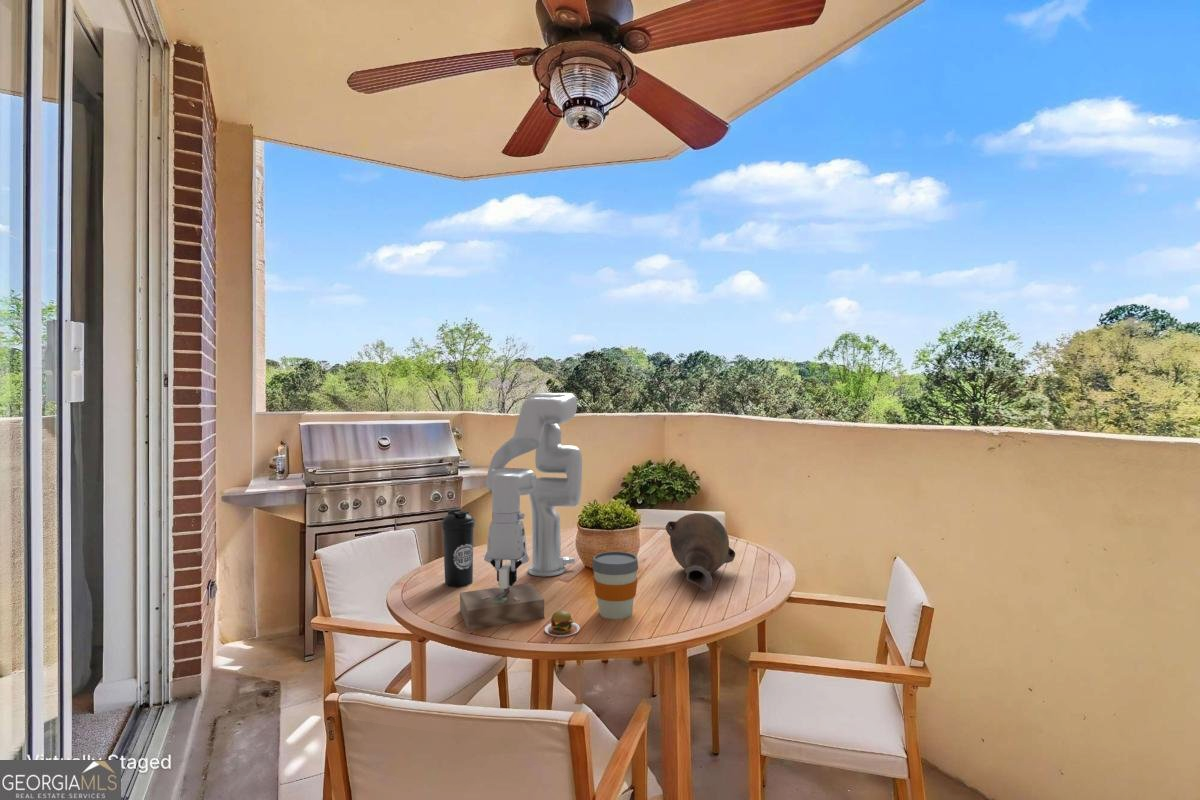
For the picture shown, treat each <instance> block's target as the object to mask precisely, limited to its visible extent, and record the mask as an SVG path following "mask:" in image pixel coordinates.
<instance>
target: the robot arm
mask: <svg viewBox="0 0 1200 800" xmlns="http://www.w3.org/2000/svg"><path fill="white" fill-rule="evenodd" d="M577 411H578V401H577V398H576V396H575V395H574V394H573V393H572V392H536V393H532V394H529V395H528V396H527V397H526V400H524V401H523V403H522V405H521V407H520V412H519V414H518V419H517V423H516V424H515V425H516V426H515V428H514V429H515V430H514V433H513V435H512V437H511V438H509V439H507V441H505V442H504V443H503V444H502V445H501V446H500V447H499V448H498V449H497V450H496V451H495V453H494V454H493V456H492V458H491V460H490V464H489V467H488V471H487V475H486V480H485V481H486V488H487V490H488V491H489V492H490V493H491V499H492V500H491V506H492V507H491V508H492V509H491V511H492V512H491V513H492V514H491V515H492V517H491V519H492V521H490V523H489V527H488V534H487V535H488V536H487V546H486V553H485V555H484V557H483V559H484V561H485V562H487V563H489V564H490V565H492V567H493V568H494V570H495V571H496V581H497V582H499V569H500V568H501V567H502V566H503V565H504V564H503V561H510V562H511V571H510V572H509V585H510V586H513V585H514V584H515V583H516V582H517V577H518V575H517V570H518V568H519V567H520V566H521V565H523V564H526V563H528V562H529V561H530V557H529V555H528V553H527V539H526V538H527V537H526V530H525V525H524V521H523V520H522V519H525V518H526V513H522V511H521V498H520V496H527V495H529V501H530V508H531V523H532V524H531V535H532V537H531V539H532V541H531V542H532V543H531V544H532V547H531V548H532V549H531V550H532V553H531V554H532V564H531V565H529V566H528V568H527V573H528V574H530V575H532V576H534V577H554V576H560V575H562V574H564V573H565V571H566V565H572V564H575V562H576V560H575V557H569V556H562V555H561V552H562V551H561V547H562V546H561V545H562V543H561V542H562V541H561V526H562V525H561V524H562V523H561V517H560V516H561V515H560V514H559V512H558V510H557V509H556V508H555V507H567V508H568V507H570V508H571V507H576V506H578V505H579V503H580V501H581V497H582V480H583V478H582V477H583V455H582V452H581V449H580V448H579V447H577V446H576V445H572V444H571V445H569V444H568V445H566V444H565V445H564V444H562V430H561V428H560V425H561V424H564V423H567V422H568V421H570V420H571V419H572V418H574V416H575V415H576V412H577ZM534 450H535V457H534V458H535V459H534V460H535V468H536V470H537V471H538V472H540V473H542V474H543V473H544V474H563V475H564V474H565V475H566V477H555V476H553V477H552V476H550V477H549V476H544V477H543V476H542V477H541V476H540V477H537V475H536V473H535V471H533V470H531V469H529V468H518V467H517V468H516V467H515V468H514V467H506V466H507V464H508V463H510V462H511V461H512V460H514V459H515V458H517V457H520V456H522V455H524V454H527V453H530V452H532V451H534Z"/></svg>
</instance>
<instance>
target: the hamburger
mask: <svg viewBox="0 0 1200 800" xmlns="http://www.w3.org/2000/svg"><path fill="white" fill-rule="evenodd" d="M574 626H575V628H577V629H576V631H575V632H573V633H571V634H567V633H570V631H571V630H572V627H574ZM549 629H551V630H552V632H553V633H555V634H551V633H550V632H549ZM580 629H581V627H580V625H579V624H578V623H576V622H574V621H573V620H572V614H571V613H570V612H569V611H567V610H565V609H560V610H559V609H558V610H557V611H554V612H553V613H552V615H551V620H550V623H549V624H547V625H546V626H545V627H544V632H545V633H546V634H548V635H549V636H553V637H560V638H561V637H562V638H564V637H568V636H569V637H570V636H572V635H575V634H577V633H578V632H579V631H580ZM556 634H559V635H556ZM561 634H564V635H561ZM565 634H566V635H565Z"/></svg>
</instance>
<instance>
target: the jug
mask: <svg viewBox="0 0 1200 800" xmlns="http://www.w3.org/2000/svg"><path fill="white" fill-rule="evenodd" d="M665 531H666V533H667V535H668V536H669V539H670V540H669V543H670V549H671V552H672V554H673V556H674V559H675V561H676V562H677V563H678V565H680V566H681V567H682V569H684V572H685V574H686V580H687V581H689V582H690V583H692V584H694V585H697V586H698V587H699V588H700V589H701V590H703V591H705V592H707V591H708V590H710V589H711V587H712V586H714V585H713V584H714V579H713V577H712V574H713V573H715V572H716V571H718V570H719V569H720V568H721V567H722V566H723V565H724V564H727V563H728V564H729V563H731V562H733V561H734V559H735V556H736V552H735V551H734V549H732V548H731V547H730V539H729V535H728V532H727V530H726V528H725V527H724V525H723V524H722V523H721V522H720V520H718V518H716V517H714V516H712V515H711V514H707V513H704V512H703V513H702V512H701V513H700V512H695V513H688V514H686V515H684V516H682V517H680V518H678V519H677V520H676V521H673V520H671V521H668V522H667V524H666V525H665Z"/></svg>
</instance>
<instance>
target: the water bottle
mask: <svg viewBox="0 0 1200 800" xmlns="http://www.w3.org/2000/svg"><path fill="white" fill-rule="evenodd" d="M475 521H476V519H475V518H474V517H473V516H472V515H471V513H470V511H469V510H462V509H461V508H451V509H448V511H447V515H445V517H444V518H443V519H442V520H441V530H442V539H443V540H442V541H443V561H444V564H443V565H444V568H443V569H444V585H445V586H447V587H448V588H449V587H451V588H462V587H466V586H469V585H471V584H472V583H473V581H474V579H473V578H474V576H473V575H474V528H475V526H476V523H475Z"/></svg>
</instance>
